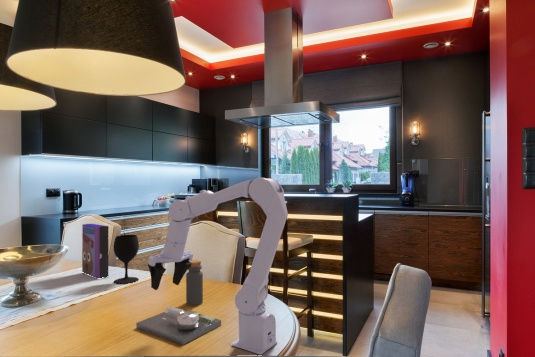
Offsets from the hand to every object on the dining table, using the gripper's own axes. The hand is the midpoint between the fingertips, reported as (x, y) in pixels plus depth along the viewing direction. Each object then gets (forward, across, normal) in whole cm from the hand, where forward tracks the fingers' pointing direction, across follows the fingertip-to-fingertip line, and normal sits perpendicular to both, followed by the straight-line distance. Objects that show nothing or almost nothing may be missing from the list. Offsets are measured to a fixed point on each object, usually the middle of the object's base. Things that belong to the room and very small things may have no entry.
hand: (165, 286), depth 97 cm
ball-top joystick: (+10, -5, +5) cm, 12 cm away
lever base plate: (+12, -6, +4) cm, 14 cm away
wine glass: (+25, -27, -53) cm, 65 cm away
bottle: (+14, -23, -7) cm, 28 cm away
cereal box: (+31, -25, -74) cm, 84 cm away
